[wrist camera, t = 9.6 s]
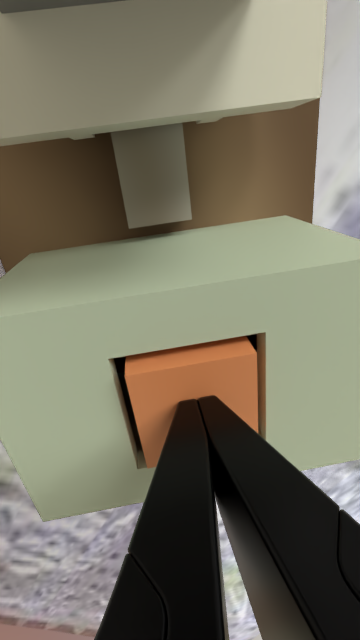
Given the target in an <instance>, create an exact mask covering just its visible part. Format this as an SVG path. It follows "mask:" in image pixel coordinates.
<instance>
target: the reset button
mask: <svg viewBox="0 0 360 640" xmlns="http://www.w3.org/2000/svg"><path fill="white" fill-rule="evenodd" d="M125 380H126V384H127V388H128V392H129V396H130V400H131V404H132V408H133V412H134V416H135V420H136V424H137V428H138V432H139V436H140V440H141V444H142V448H143V453H144V457H145V461H146V465H147V469H148V468H153V467H156V466H157V463H158V460H159V457H160V454H161V451H162V448H163V445H164V442H165V439H166V436H167V433H168V431H169V428H170V425H171V422H172V419H173V416H174V413H175V410H176V407H177V404H178V403H179V402H180V401H183V400H188V399H196V400H198V398H200V397H205V396H210V395H215V396H217V397H218V398H219V399H220V400H221V401H222V402H223V403H225V404H226V405H227V406H228V407H229V408H230V409H231V410H232V411H233V412H235V413H236V414H237V415H238V416H239V417H240V418H241V419H242V420H244V421H245V422H246V423H247V424H248V425H249V426H250V427H251V428H252V429H254V430H255V431H256V432H257V433H258V387H257V352H256V351H255V349H254V348H253V346H252V345H251V343H250V342H249V340H248V338H247V337H246V336H240V337H234V338H228V339H222V340H216V341H210V342H205V343H199V344H193V345H187V346H181V347H175V348H170V349H164V350H158V351H152V352H146V353H140V354H135V355H129V356H126V361H125Z"/></svg>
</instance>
